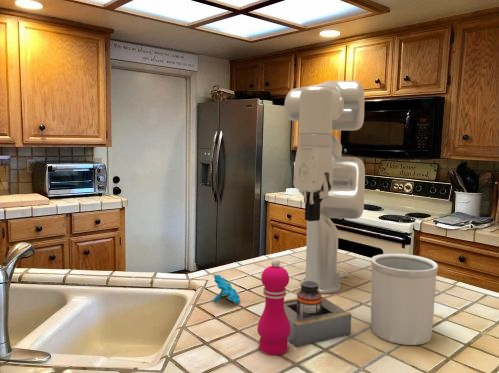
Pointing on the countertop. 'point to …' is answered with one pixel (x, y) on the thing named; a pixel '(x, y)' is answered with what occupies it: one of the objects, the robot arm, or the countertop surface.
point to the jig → (317, 323)
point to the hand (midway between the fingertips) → (312, 220)
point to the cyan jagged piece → (226, 290)
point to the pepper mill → (274, 311)
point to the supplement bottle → (309, 300)
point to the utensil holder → (403, 298)
